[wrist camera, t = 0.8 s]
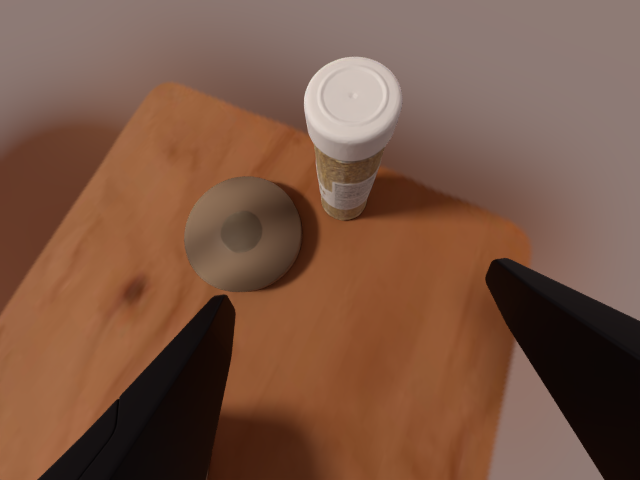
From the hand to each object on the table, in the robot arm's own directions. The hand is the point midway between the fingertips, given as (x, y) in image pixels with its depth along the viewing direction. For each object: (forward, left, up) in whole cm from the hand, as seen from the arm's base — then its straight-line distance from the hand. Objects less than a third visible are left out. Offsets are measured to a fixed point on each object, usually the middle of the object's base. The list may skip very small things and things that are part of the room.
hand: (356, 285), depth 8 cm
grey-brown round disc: (+9, +6, -14) cm, 18 cm away
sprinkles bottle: (+7, -4, -15) cm, 17 cm away
